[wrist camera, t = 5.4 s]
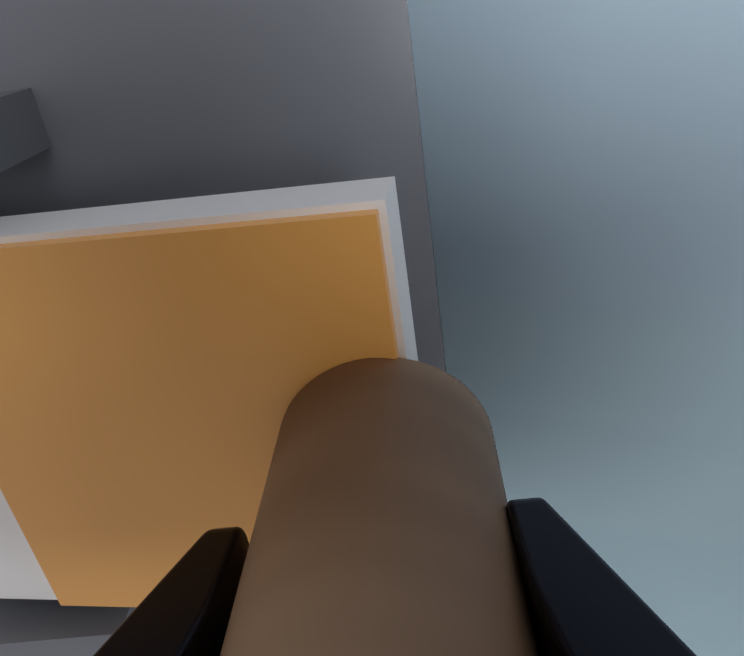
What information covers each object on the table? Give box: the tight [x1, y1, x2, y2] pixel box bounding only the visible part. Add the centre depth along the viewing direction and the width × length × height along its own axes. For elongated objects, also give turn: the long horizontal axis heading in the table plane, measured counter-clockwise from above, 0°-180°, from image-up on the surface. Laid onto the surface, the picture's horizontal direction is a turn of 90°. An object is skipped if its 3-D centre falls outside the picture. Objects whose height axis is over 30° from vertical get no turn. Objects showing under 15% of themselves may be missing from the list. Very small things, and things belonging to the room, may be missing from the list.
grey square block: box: [0, 0, 446, 656], centre depth 14 cm, size 16×16×8 cm
